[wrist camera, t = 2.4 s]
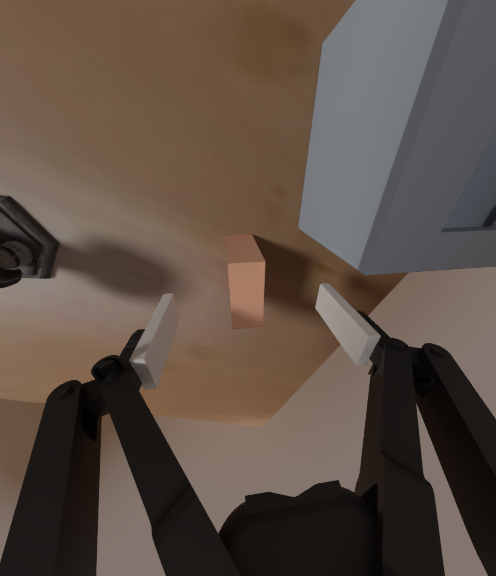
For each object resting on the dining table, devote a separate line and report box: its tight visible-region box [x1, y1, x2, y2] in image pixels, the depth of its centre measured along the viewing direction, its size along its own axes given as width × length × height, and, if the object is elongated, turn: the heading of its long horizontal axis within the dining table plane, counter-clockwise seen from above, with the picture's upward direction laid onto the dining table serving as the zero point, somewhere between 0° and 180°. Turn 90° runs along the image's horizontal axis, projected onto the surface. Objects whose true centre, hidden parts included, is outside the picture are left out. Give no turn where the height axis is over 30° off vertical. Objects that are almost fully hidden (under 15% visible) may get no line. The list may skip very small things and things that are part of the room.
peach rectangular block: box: [226, 234, 265, 329], centre depth 20 cm, size 7×3×8 cm, turn 1°
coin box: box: [298, 0, 496, 275], centre depth 13 cm, size 14×12×12 cm
